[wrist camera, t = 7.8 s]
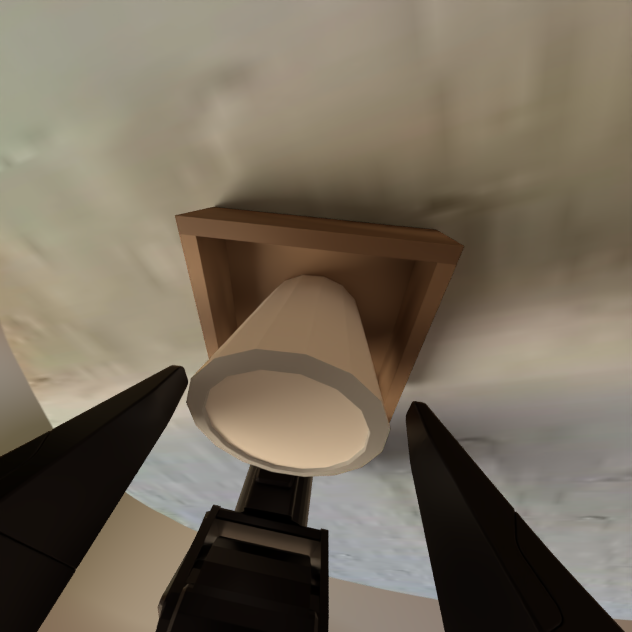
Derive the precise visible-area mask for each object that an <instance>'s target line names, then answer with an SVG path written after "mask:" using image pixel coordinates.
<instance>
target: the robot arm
mask: <svg viewBox="0 0 632 632" xmlns="http://www.w3.org/2000/svg"><path fill="white" fill-rule="evenodd" d="M187 385H188V379H187V376H186V373H185V370H184V368H183V367H182V366H176V365H172V366H169V367H167V368H166V369H164V370H162V371H160V372H158V373H156V374H154V375H152V376H151V377H149V378H147V379H145V380H143V381H141V382H139V383H138V384H136V385H134V386H132V387H130V388H128V389H126V390H125V391H123V392H121V393H119V394H117V395H115V396H113V397H111V398H110V399H108V400H106V401H104V402H102V403H100V404H98V405H97V406H95V407H93V408H91V409H89V410H87V411H85V412H84V413H82V414H80V415H78V416H76V417H74V418H72V419H70V420H69V421H67V422H65V423H63V424H61V425H59V426H57V427H56V428H54V429H52V431H48V432H46V433H45V434H42V435H41V436H39V437H37V438H35V439H33V440H31V441H29V442H27V443H25V444H24V445H22V446H20V447H18V448H16V449H14V450H12V451H10V452H8V453H6V454H4V455H2V456H0V632H37V631H38V629H39V628H40V626H41V625H42V623H43V622H44V620H45V619H46V617H47V615H48V614H49V612H50V610H51V609H52V607H53V606H54V604H55V603H56V601H57V599H58V597H59V596H60V595H61V593H62V592H63V590H64V588H65V587H66V585H67V583H68V582H69V580H70V579H71V577H72V576H73V574H74V573H75V571H76V568H77V567H78V566H79V564H80V563H81V561H82V559H83V558H84V556H85V555H86V553H87V552H88V550H89V548H90V547H91V545H92V544H93V542H94V540H95V539H96V537H97V536H98V534H99V532H100V531H101V529H102V528H103V526H104V525H105V523H106V521H107V520H108V518H109V517H110V515H111V513H112V512H113V510H114V509H115V507H116V505H117V504H118V502H119V501H120V499H121V497H122V496H123V494H124V493H125V491H126V490H127V488H128V486H129V485H130V483H131V482H132V480H133V479H134V477H135V475H136V474H137V472H138V471H139V469H140V467H141V466H142V464H143V463H144V461H145V459H146V458H147V456H148V455H149V453H150V452H151V450H152V448H153V447H154V445H155V444H156V442H157V440H158V439H159V437H160V436H161V434H162V432H163V431H164V429H165V428H166V426H167V424H168V423H169V421H170V419H171V417H172V415H173V413H174V411H175V409H176V407H177V405H178V403H179V401H180V399H181V397H182V395H183V393H184V391H185V389H186V387H187ZM406 427H407V437H408V447H409V457H410V464H411V470H412V475H413V480H414V485H415V489H416V494H417V499H418V504H419V509H420V514H421V518H422V523H423V528H424V533H425V538H426V543H427V548H428V552H429V557H430V562H431V567H432V572H433V577H434V581H435V586H436V591H437V596H438V601H439V606H440V610H441V615H442V620H443V625H444V630H445V632H625V631H624V630H622V628H621V627H620V626H619V625H618V624H617V623H616V622H615V621H614V620H613V619H612V618H611V616H610V615H609V614H608V613H607V612H606V611H605V610H604V609H603V608H602V607H601V606H600V605H599V604H598V603H597V601H596V600H595V599H594V598H593V597H592V596H591V595H590V594H589V593H588V592H587V591H586V590H585V589H584V588H583V586H582V585H581V584H580V583H579V582H578V581H577V580H576V579H575V578H574V577H573V576H572V574H571V573H570V572H569V571H568V570H567V569H566V568H565V567H564V566H563V565H562V564H561V562H560V561H559V560H558V559H557V558H556V557H555V556H554V555H553V554H552V553H551V551H550V550H549V549H548V548H547V547H546V546H545V544H544V543H543V542H542V541H541V540H540V539H539V537H538V536H537V535H536V534H535V533H534V532H533V531H532V529H531V528H530V527H529V526H528V525H527V524H526V522H525V521H524V520H523V519H522V518H521V516H520V515H519V514H518V513H517V512H515V511H514V508H513V507H512V506H511V505H510V503H509V502H508V501H507V500H506V499H505V497H504V496H503V495H502V494H501V493H500V492H499V490H498V489H497V488H496V487H495V486H494V484H493V483H492V482H491V481H490V480H489V478H488V477H487V476H486V475H485V474H484V473H483V471H482V470H481V469H480V468H479V467H478V465H477V464H476V463H475V462H474V461H473V459H472V458H471V457H470V456H469V455H468V453H467V452H466V451H465V450H464V449H463V448H462V446H461V445H460V444H459V443H458V442H457V440H456V439H455V438H454V437H453V436H452V434H451V433H450V432H449V431H448V430H447V428H446V427H445V426H444V425H443V424H442V423H441V421H440V420H439V419H438V418H437V417H436V415H435V414H434V413H433V412H432V411H431V409H430V408H429V407H428V406H427V405H426V404H425V403H423V402H417V401H413V402H412V403H411V406H410V408H409V410H408V412H407V414H406ZM312 480H313V476H308V477H303V476H296V475H290V474H283V473H277V472H271V471H269V470H266V469H263V468H260V467H257V466H254V465H251V464H250V467H249V470H248V473H247V476H246V479H245V482H244V485H243V488H242V491H241V494H240V497H239V500H238V503H237V505H236V508H235V511H233V510H228V509H224V508H221V506H218V505H213V506H212V508H211V510H210V511H208V512H206V514H205V516H204V519H203V521H202V524H201V526H200V528H199V531H198V533H197V535H196V537H195V539H194V541H193V543H192V545H191V547H190V549H189V551H188V552H187V554H186V556H185V557H184V559H183V561H182V562H181V564H180V566H179V568H178V569H177V571H176V573H175V575H174V576H173V578H172V580H171V581H170V583H169V585H168V587H167V588H166V590H165V592H164V593H163V595H162V597H161V600H160V602H159V605H158V613H159V621H158V625H157V629H156V632H328V619H329V614H328V613H329V610H328V609H329V607H328V606H329V604H328V603H329V596H328V594H329V592H328V591H329V590H328V588H329V586H328V584H329V583H328V582H329V580H328V579H329V571H328V530H326V529H320V530H318V529H314V528H309V527H307V522H308V514H309V505H310V497H311V488H312Z"/></svg>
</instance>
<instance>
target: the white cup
mask: <svg viewBox="0 0 632 632" xmlns="http://www.w3.org/2000/svg"><path fill="white" fill-rule="evenodd" d="M186 403H187V405H188V408H189V410H190V412H191V415H192V417H193V420H194V422H195V424H196V426H197V427H198V428H199V429H200V430H201V431H202V432H203V433H204V434H205V435H206V436H207V437H208V438H209V439H210V440H211V441H212V442H213V443H214V444H215V445H216V446H217V447H219V448H221V449H222V450H224V451H226V452H227V453H229V454H231V455H232V456H234V457H236V458H237V459H239V460H241V461H243V462H245V463H248V464H251V465H254V466H257V467H260V468H263V469H266V470H269V471H271V472H277V473H283V474H290V475H296V476H303V477H308V476H331V475H337V474H341V473H344V472H347V471H351V470H354V469H357V468H361V467H363V466H364V465H365V464H367V463H368V462H369V461H371V460H372V459H373V458H375V457H376V456H377V455H378V454H380V453H381V452H382V451H383V448H384V445H385V442H386V440H387V437H388V434H389V431H390V426H389V422H388V418H387V415H386V411H385V407H384V403H383V400H382V396H381V392H380V389H379V385H378V381H377V378H376V374H375V370H374V366H373V363H372V359H371V355H370V352H369V348H368V344H367V340H366V337H365V333H364V329H363V326H362V322H361V318H360V315H359V311H358V308H357V305H356V302H355V299H354V298H353V297H352V296H351V295H350V294H349V293H348V291H347V290H346V289H345V288H344V287H343V286H342V285H340V284H338V283H336V282H334V281H332V280H330V279H328V278H326V277H323V276H311V275H301V276H298V277H295V278H292V279H289V280H286V281H284V282H283V283H282V284H281V285H280V286H278V287H277V288H276V289H275V290H274V291H273V292H272V293H271V294H270V295H269V296H268V297H267V298H266V299H265V300H264V301H263V302H262V303H261V305H260V306H259V307H258V308H257V309H256V310H255V311H254V312H253V313H252V314H251V315H250V316H249V317H248V318H247V319H246V320H245V322H244V323H243V324H242V325H241V326H240V327H239V328H238V329H237V330H236V331H235V332H234V333H233V334H232V335H231V336H230V337H229V339H228V340H227V341H226V342H225V343H224V344H223V345H222V346H221V347H220V348H219V349H218V350H217V351H216V352H215V353H214V354H213V355H212V357H211V358H210V359H209V360H208V361H207V362H206V363H205V364H204V365H203V366H202V367H201V368H200V369H199V370H198V371H197V372H196V374H195V375H194V376H193V377H192V378H191V381H190V386H189V391H188V396H187V401H186Z"/></svg>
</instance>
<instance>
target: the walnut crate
mask: <svg viewBox="0 0 632 632" xmlns="http://www.w3.org/2000/svg"><path fill="white" fill-rule="evenodd" d="M175 218H176V222H177V227H178V231H179V235H180V239H181V243H182V248H183V252H184V256H185V260H186V264H187V269H188V273H189V277H190V281H191V285H192V289H193V294H194V298H195V302H196V306H197V310H198V315H199V319H200V323H201V327H202V331H203V336H204V340H205V344H206V348H207V352H208V357H209V359H210V358H211V357H212V355H213V354H214V353H215V352H216V351H217V350H218V349H219V348H220V347H221V346H222V345H223V344H224V343H225V342H226V341H227V340H228V339H229V337H230V336H231V335H232V334H233V333H234V332H235V331H236V330H237V329H238V328H239V327H240V326H241V325H242V324H243V323H244V322H245V320H246V319H247V318H248V317H249V316H250V315H251V314H252V313H253V312H254V311H255V310H256V309H257V308H258V307H259V306H260V305H261V303H262V302H263V301H264V300H265V299H266V298H267V297H268V296H269V295H270V294H271V293H272V292H273V291H274V290H275V289H276V288H277V287H278V286H280V285H281V284H282V283H283V282H284V281H286V280H289V279H292V278H295V277H298V276H301V275H311V276H323V277H326V278H328V279H330V280H332V281H334V282H336V283H338V284H340V285H342V286H343V287H344V288H345V289H346V290H347V291H348V293H349V294H350V295H351V296H352V297H353V298H354V299H355V302H356V305H357V308H358V311H359V315H360V318H361V322H362V326H363V329H364V333H365V337H366V340H367V344H368V348H369V352H370V355H371V359H372V363H373V366H374V370H375V374H376V378H377V381H378V385H379V389H380V392H381V396H382V400H383V403H384V407H385V411H386V415H387V418H388V422H390V420H391V418H392V415H393V413H394V411H395V408H396V406H397V404H398V401H399V399H400V397H401V394H402V392H403V389H404V387H405V385H406V382H407V380H408V378H409V375H410V373H411V371H412V368H413V366H414V364H415V361H416V359H417V357H418V354H419V352H420V349H421V347H422V345H423V342H424V340H425V338H426V335H427V333H428V331H429V328H430V326H431V324H432V321H433V319H434V316H435V314H436V312H437V309H438V307H439V305H440V302H441V300H442V298H443V295H444V293H445V291H446V288H447V286H448V284H449V281H450V279H451V276H452V274H453V272H454V269H455V267H456V265H457V262H458V260H459V258H460V255H461V253H462V251H463V248H464V246H463V245H461V244H460V243H458V242H456V241H455V240H453V239H451V238H450V237H448V236H446V235H445V234H443V233H441V232H439V231H438V230H434V229H424V228H414V227H405V226H395V225H385V224H375V223H366V222H356V221H346V220H336V219H327V218H317V217H307V216H297V215H288V214H278V213H268V212H259V211H249V210H239V209H229V208H220V207H211V208H206V209H202V210H197V211H193V212H188V213H184V214H179V215H175Z"/></svg>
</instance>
